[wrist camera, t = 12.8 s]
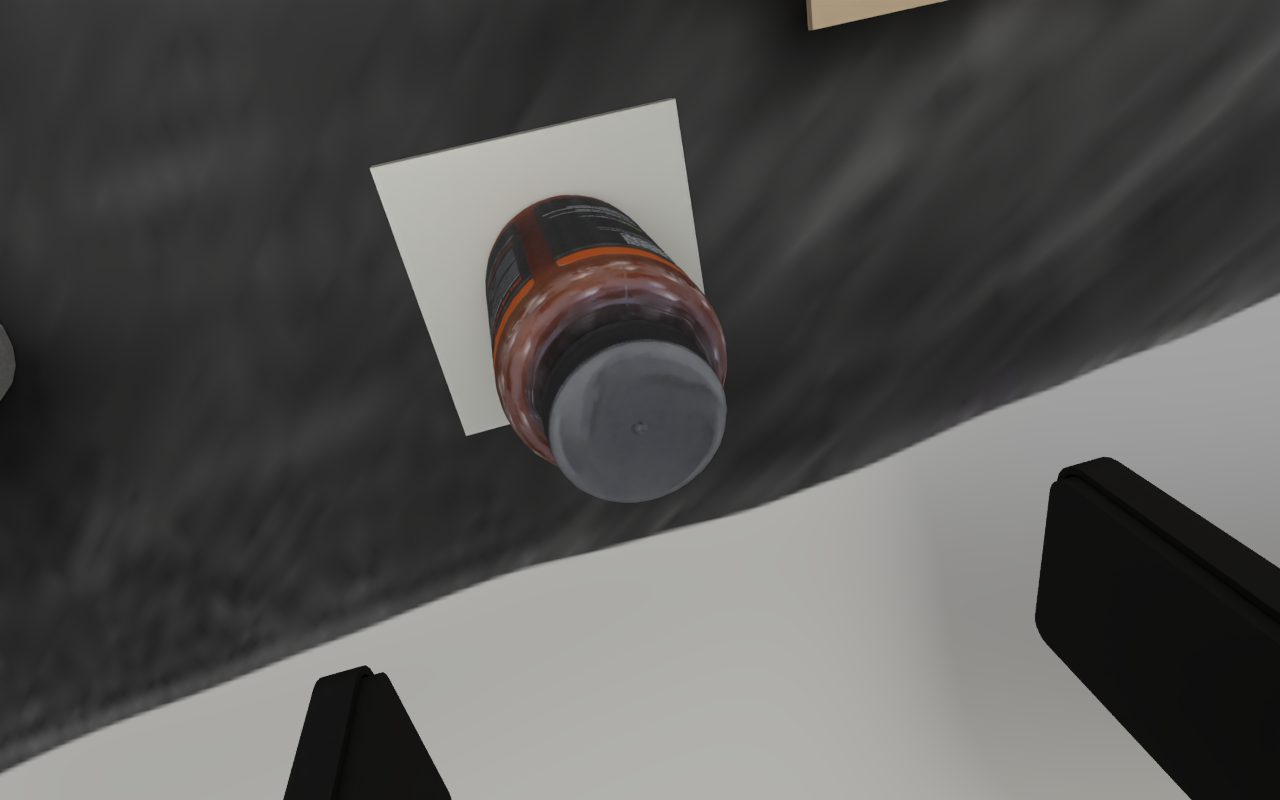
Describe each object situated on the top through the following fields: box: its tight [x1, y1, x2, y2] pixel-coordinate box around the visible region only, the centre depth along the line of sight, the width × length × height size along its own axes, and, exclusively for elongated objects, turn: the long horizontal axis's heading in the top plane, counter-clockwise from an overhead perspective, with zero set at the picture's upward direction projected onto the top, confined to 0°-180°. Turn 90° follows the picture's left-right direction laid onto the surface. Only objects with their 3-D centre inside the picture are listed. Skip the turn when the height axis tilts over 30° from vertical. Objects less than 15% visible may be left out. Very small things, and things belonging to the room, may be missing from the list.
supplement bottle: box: [485, 195, 727, 503], centre depth 20 cm, size 6×6×11 cm
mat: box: [370, 98, 705, 436], centre depth 25 cm, size 10×10×1 cm
